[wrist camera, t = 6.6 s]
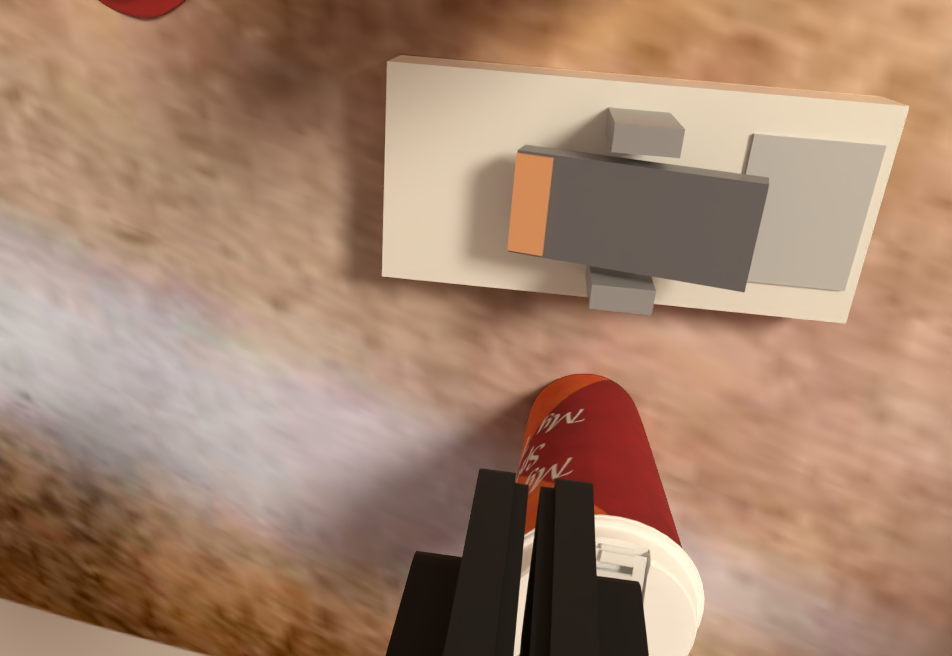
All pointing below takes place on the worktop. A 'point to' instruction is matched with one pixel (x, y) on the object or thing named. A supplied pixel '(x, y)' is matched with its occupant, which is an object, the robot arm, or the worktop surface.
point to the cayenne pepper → (142, 6)
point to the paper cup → (612, 502)
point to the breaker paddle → (636, 216)
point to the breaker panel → (642, 138)
